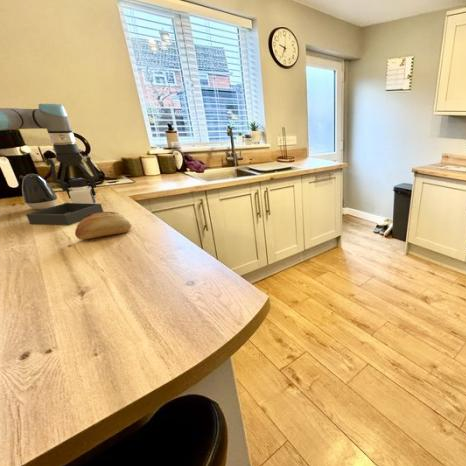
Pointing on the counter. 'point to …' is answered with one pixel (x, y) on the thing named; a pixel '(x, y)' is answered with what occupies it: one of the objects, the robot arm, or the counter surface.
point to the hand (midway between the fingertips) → (82, 196)
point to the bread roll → (101, 225)
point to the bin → (55, 213)
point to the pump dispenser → (37, 192)
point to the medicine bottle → (81, 191)
